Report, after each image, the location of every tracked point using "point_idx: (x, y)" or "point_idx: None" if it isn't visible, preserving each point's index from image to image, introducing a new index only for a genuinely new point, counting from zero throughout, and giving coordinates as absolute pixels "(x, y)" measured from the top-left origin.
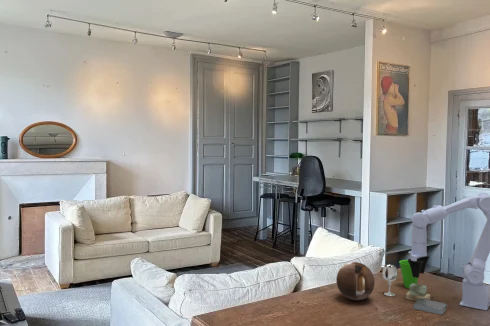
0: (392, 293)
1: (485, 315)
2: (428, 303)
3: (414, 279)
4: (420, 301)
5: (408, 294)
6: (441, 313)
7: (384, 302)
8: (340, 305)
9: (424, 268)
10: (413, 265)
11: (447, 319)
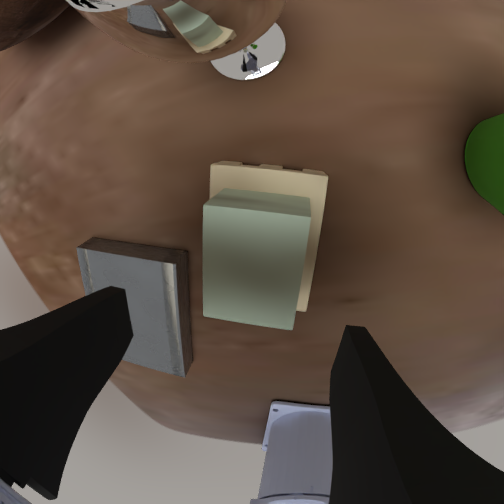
0: (255, 59)
1: (215, 438)
2: None
3: (500, 204)
4: (124, 273)
5: (212, 183)
6: None
7: (87, 85)
8: None
9: (332, 433)
10: (19, 379)
11: None
